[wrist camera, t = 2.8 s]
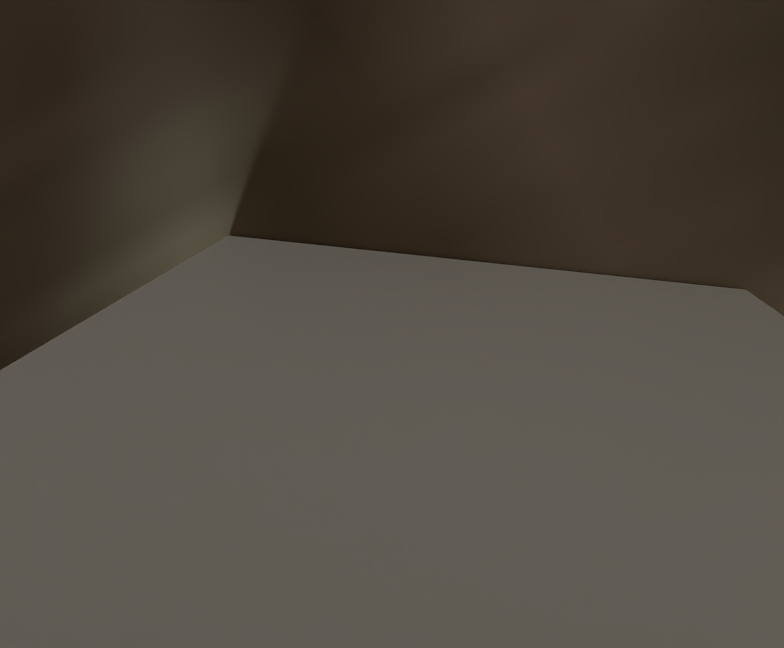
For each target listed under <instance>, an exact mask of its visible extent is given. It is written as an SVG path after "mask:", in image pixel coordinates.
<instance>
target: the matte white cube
mask: <svg viewBox="0 0 784 648" xmlns="http://www.w3.org/2000/svg"><path fill="white" fill-rule="evenodd" d="M0 648H784V316H783V315H782V314H780V313H779V312H777V311H776V310H774V309H773V308H772V307H770V306H769V305H767V304H766V303H764V302H763V301H761V300H760V299H759V298H757V297H756V296H754V295H753V294H751V293H750V292H749V291H747V290H745V289H735V288H725V287H716V286H706V285H697V284H687V283H678V282H668V281H658V280H649V279H639V278H630V277H620V276H611V275H601V274H591V273H582V272H572V271H563V270H553V269H544V268H534V267H524V266H515V265H505V264H496V263H486V262H477V261H467V260H457V259H448V258H438V257H429V256H419V255H410V254H400V253H391V252H381V251H371V250H362V249H352V248H343V247H333V246H324V245H314V244H304V243H295V242H285V241H276V240H266V239H257V238H247V237H237V236H226V237H225V238H223V239H221V240H220V241H218V242H216V243H215V244H213V245H211V246H210V247H208V248H206V249H204V250H203V251H201V252H199V253H198V254H196V255H194V256H193V257H191V258H189V259H188V260H186V261H184V262H182V263H181V264H179V265H177V266H176V267H174V268H172V269H171V270H169V271H167V272H166V273H164V274H162V275H160V276H159V277H157V278H155V279H154V280H152V281H150V282H149V283H147V284H145V285H144V286H142V287H140V288H138V289H137V290H135V291H133V292H132V293H130V294H128V295H127V296H125V297H123V298H122V299H120V300H118V301H116V302H115V303H113V304H111V305H110V306H108V307H106V308H105V309H103V310H101V311H100V312H98V313H96V314H94V315H93V316H91V317H89V318H88V319H86V320H84V321H83V322H81V323H79V324H78V325H76V326H74V327H72V328H71V329H69V330H67V331H66V332H64V333H62V334H61V335H59V336H57V337H56V338H54V339H52V340H50V341H49V342H47V343H45V344H44V345H42V346H40V347H39V348H37V349H35V350H34V351H32V352H30V353H28V354H27V355H25V356H23V357H22V358H20V359H18V360H17V361H15V362H13V363H12V364H10V365H8V366H6V367H5V368H3V369H1V370H0Z"/></svg>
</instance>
